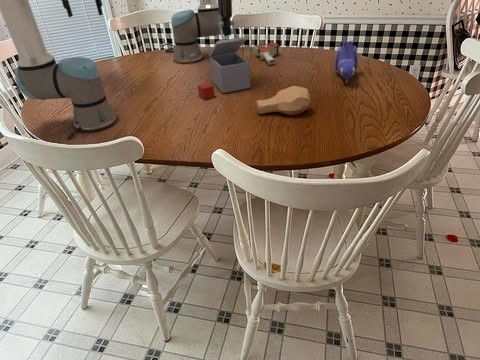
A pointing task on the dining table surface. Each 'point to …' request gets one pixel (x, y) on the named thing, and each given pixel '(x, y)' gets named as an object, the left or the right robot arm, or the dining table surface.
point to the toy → (346, 60)
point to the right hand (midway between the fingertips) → (226, 34)
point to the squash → (286, 101)
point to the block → (206, 91)
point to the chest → (230, 72)
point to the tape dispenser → (266, 52)
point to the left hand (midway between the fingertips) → (85, 15)
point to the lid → (227, 43)
